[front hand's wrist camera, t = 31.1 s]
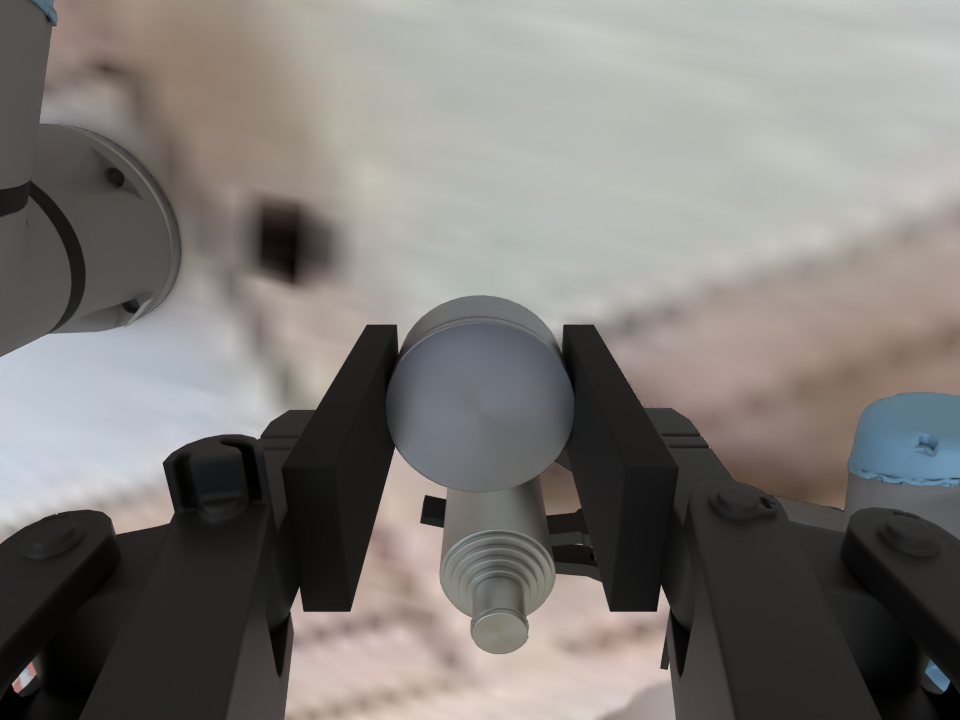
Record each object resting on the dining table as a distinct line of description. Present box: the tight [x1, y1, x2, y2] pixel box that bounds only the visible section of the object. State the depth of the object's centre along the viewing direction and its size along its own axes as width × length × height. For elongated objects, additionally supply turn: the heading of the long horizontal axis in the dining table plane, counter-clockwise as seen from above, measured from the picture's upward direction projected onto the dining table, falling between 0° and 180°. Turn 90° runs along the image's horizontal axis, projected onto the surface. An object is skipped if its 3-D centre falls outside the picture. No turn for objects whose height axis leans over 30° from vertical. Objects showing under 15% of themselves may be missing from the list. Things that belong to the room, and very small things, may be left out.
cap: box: [385, 296, 575, 493], centre depth 13 cm, size 4×4×2 cm
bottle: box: [440, 475, 556, 654], centre depth 41 cm, size 7×7×21 cm
